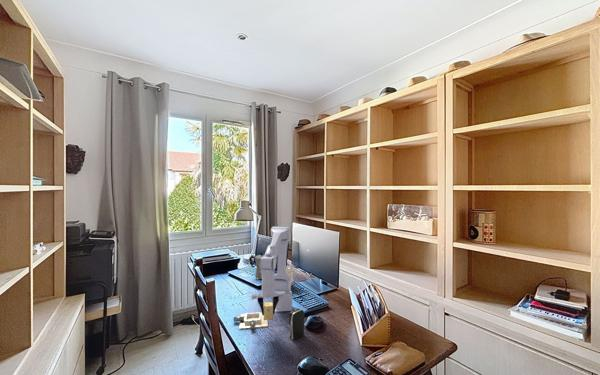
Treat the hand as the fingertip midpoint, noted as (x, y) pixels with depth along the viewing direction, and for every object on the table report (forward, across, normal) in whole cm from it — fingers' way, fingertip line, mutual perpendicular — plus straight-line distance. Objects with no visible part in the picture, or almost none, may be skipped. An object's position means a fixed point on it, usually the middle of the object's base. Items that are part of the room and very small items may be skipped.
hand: (268, 313), depth 117 cm
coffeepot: (+9, -3, +72) cm, 73 cm away
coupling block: (+2, 0, 0) cm, 2 cm away
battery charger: (+9, +12, -4) cm, 16 cm away
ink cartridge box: (+9, +14, +51) cm, 54 cm away
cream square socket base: (+9, -8, +11) cm, 16 cm away
